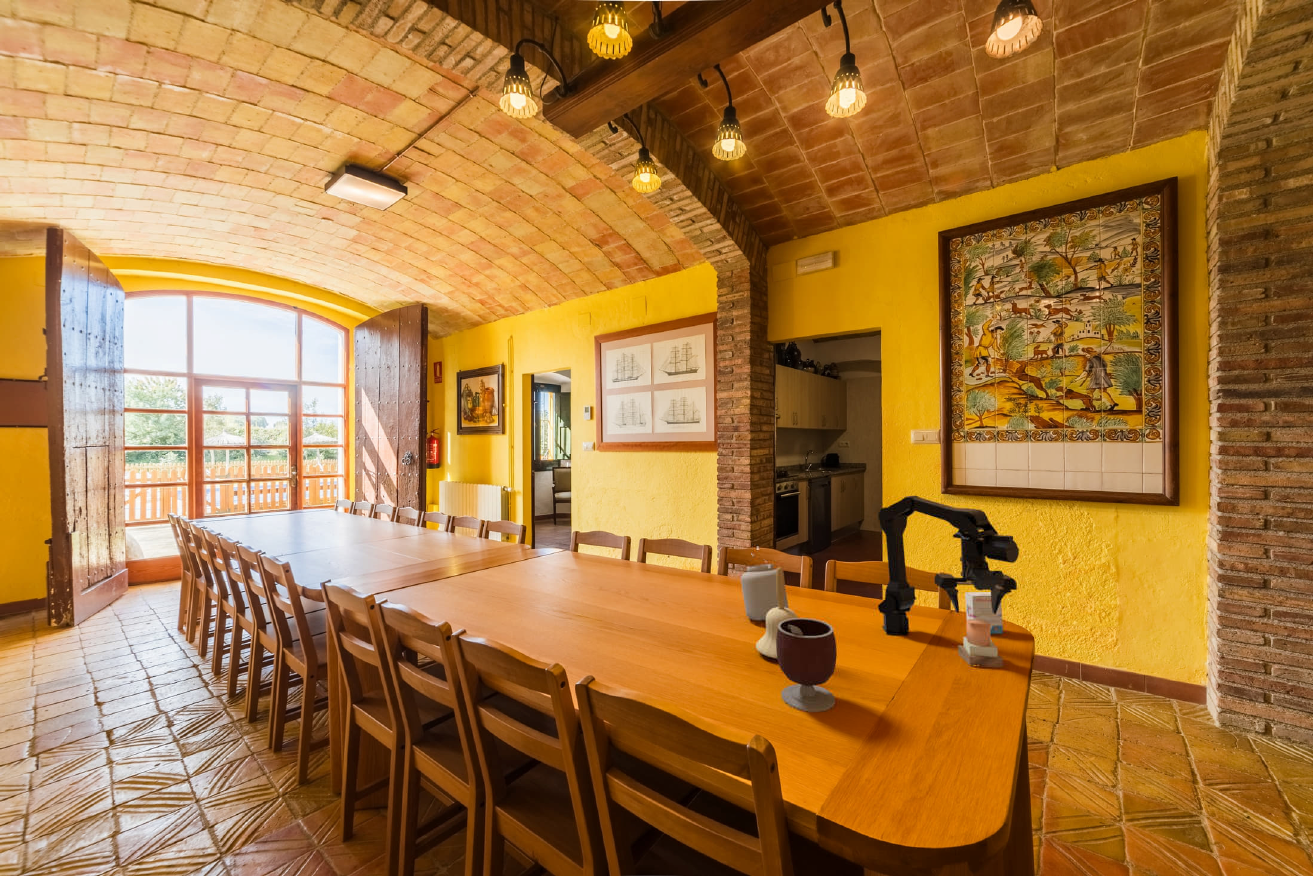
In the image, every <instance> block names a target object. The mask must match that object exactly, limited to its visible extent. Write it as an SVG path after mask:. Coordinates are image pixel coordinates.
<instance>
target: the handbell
mask: <svg viewBox="0 0 1313 876" xmlns="http://www.w3.org/2000/svg"><path fill="white" fill-rule="evenodd" d="M776 569H777V572H776V593H777V599H778V605H779V606H778V607H776V608H773V609H771V610H770V611H769V612H768V613H767V615H766V620H765V634H763V636H762V637H761V638H760V639H759V640H758V641H757V642H756V644H755V649H756V650H757V651H758V652H759V653H760V654H762V655H764V656H766V657H769V658H773V659H776V660H778V657H777V651H776V637H777V630H778V624H779V623H780V622H782V621H784V620H787V619H794V618H798V615H797V614H796V612H795V611H793V610H792V609H790V608H789V609H788V608H785V607H784V599H785V590H786V585H785V584H786V583H785V574H784V573H785V572H784V569H783V568H782V567H779V566H778V567H777V568H776Z"/></svg>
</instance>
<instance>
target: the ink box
mask: <svg viewBox="0 0 1313 876" xmlns="http://www.w3.org/2000/svg"><path fill="white" fill-rule="evenodd" d="M964 595H965V596H964V597H965V611H966V621H967V620H968V619H979V620H984V621H987V622H989V623H990V635H993V634H994V635H997V634H998V635H999V634H1000V635H1002V634H1004V628H1003V627H1004V626H1003V610H1002V601H1001V602H1000V605H999V607H998V610H997V612H996V614H994V613H993V612H992V606H991V591H990V592H988V591H987V592H984V591H982V592H981V591H978V592H977V591H975V592H972V591H971V592H970V591H969V592H965V594H964Z"/></svg>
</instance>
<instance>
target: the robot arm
mask: <svg viewBox="0 0 1313 876" xmlns="http://www.w3.org/2000/svg"><path fill="white" fill-rule="evenodd" d="M915 512H917V513H920V514H924V515H926V516H930V517H932V518H936V519H939V520H942V521H945V522H948V523H949V524H950V525H951V526H952V527H954V528H956V529H957V532H955V533H954V534H953V535H952V538H954V539H960V551H961V555H960V557H959V561H960V562H961V571H960V576H961V577H955V576H953V575H952V574H951V573H936V574H935V576H934V584H935V585H936V586H938V587H939V588H940V589H942V590H944V591H945V592H946V593H947V595H948V597H949V599H950V601H951V603H952V606H953V609H954V611H955V612H956V613H957V614H959V613H960V607H959V606H960V605H959V597H958V596H959V595H958V594H959V590H958V589H957V587H958V585H959V586H961V585H962V586H973V587H974V589H976V590H978V591H990V592H991V606H992V612H993V613H994V614H996V612H997V610H998V607H999V605H1000V602H1001V603H1002V600H1003V598H1004V596H1005V595H1007V594H1008V593H1009V594H1011V593H1012V591H1013V590H1014V591H1016V590H1018V583H1017V581H1016V579H1015V578H1013V577H1011V576H1009V575H1007V574H1004V572H1003V571H1002V570H990V567H989V562H988V561H987V559H988V560H995V561H998V562H1005V563H1011V564H1014V563H1016V561H1017V560H1018V558H1019V555H1020V549H1019V547H1018V543H1016V541H1014V536H1013V535H1002V534H1001V535H1000V534H999V532H997V530H996V528H995V527H994V526H993V525H992V524H991V522H990V521H989V518H988V515H987V514H986V512H984V511H983V510H981V509H979V508H978V509H975V508H969V507H968V508H967V507H964V508H963V507H953V506H951V505H946V504H944V503H940V502H936V501H933V500H929V499H926V498H922V497H920V496H917V495H909V496H905V497H903V498H901V499H900V500H899V501H897V502H895V503H893V504H891V505H889V506H885V507H882V508H881V509H880V510H879V511H878V514H877V518H878V522H879V527H880V528H881V530H882V532H883V533H884V535H885V542H886V552H887V555H886V556H887V565H888V567H887V568H888V577H889V580H888V583H887V585H886V586H885V587H886V588H885V592H884V593H885V594H884V599H883V600H882V601H881V602H880V603H879V604H878V605H877V608H878V611H879V613H880V614H882V615H883V616H882V617H883V625H881V626H882V629H883V630H884V632H885V634H886V635H897V636H898V635H900V636H901V635H902V636H909V635H910V633H909V631H910V625H909V624H910V621H909V617H908V616H907V613H909V612H911V609H912V607H913V606H914V604H915V602H916V601H915V600H917V598H916V595H915V594H916V588H915V586H913V585H912V586H911V585H910V583H909V582H908V580H907V570H906V559H905V558H906V556H905V545H904V533H905V531H906V528H907V526H908V517H911V515H913V514H914V513H915Z"/></svg>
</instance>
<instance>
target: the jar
mask: <svg viewBox="0 0 1313 876" xmlns="http://www.w3.org/2000/svg"><path fill="white" fill-rule="evenodd" d="M756 547H757V549H756V550H760V549H759V546H756ZM752 556H754V554H752ZM765 563H767V561H766V560H765ZM776 572H777V568H774V565H773V564H772V563H771V564H770V563H769V564H768V563H767V564H759V565H758V564H757V565H752V566H747V567H746V572H744V573H743V574H741V576H740V584H741V590H742V596H743V603H744V609H745V615H746V616H747V618H749V619H750V620H752V621H766V615H767V613H768V612H769V611H770V610H771V609H773V608H776V607H778V606H779V605H778V599H777V593H776ZM784 607H785V608H788V609H790V608H789V602H788V597H787V592H786V589H785V599H784Z"/></svg>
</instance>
